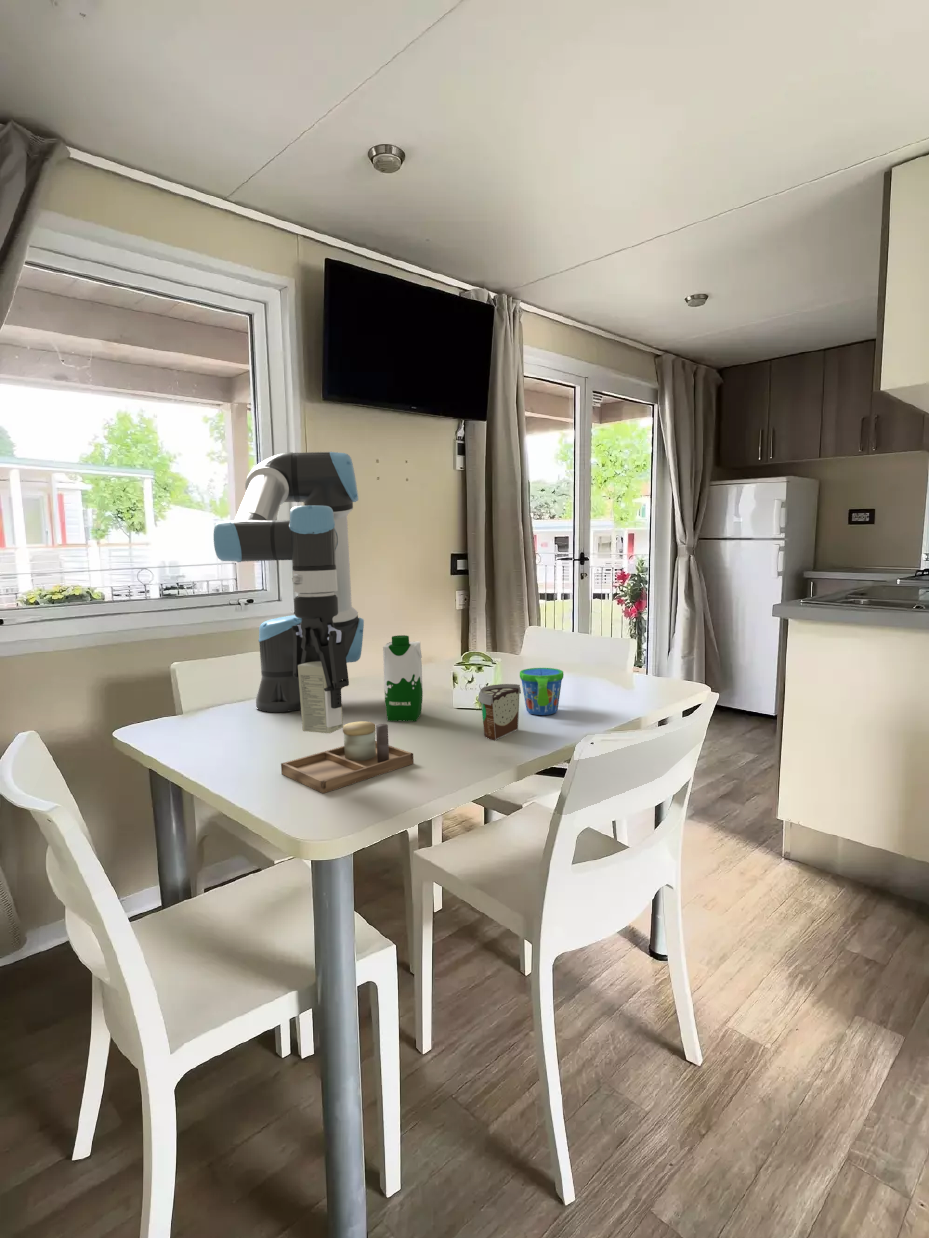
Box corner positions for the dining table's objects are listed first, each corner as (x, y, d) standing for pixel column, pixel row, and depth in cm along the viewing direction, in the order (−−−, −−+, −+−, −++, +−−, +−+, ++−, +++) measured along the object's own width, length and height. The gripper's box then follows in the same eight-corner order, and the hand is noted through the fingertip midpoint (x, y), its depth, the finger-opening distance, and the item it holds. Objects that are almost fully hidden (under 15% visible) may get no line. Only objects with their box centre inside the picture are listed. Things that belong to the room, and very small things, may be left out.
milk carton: (382, 722, 154) (379, 638, 152) (390, 712, 163) (387, 632, 161) (419, 722, 154) (416, 637, 151) (425, 712, 163) (423, 632, 160)
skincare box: (344, 728, 119) (341, 661, 118) (329, 734, 116) (326, 666, 114) (315, 724, 122) (312, 659, 121) (300, 731, 118) (296, 664, 117)
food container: (498, 724, 151) (497, 681, 150) (521, 728, 147) (520, 684, 146) (467, 737, 141) (466, 692, 140) (491, 742, 137) (490, 695, 136)
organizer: (281, 773, 122) (279, 732, 121) (369, 748, 135) (368, 711, 134) (323, 793, 112) (321, 748, 111) (413, 763, 125) (412, 723, 125)
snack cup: (523, 703, 169) (522, 664, 168) (564, 704, 167) (564, 665, 166) (516, 720, 154) (516, 677, 152) (562, 721, 152) (562, 678, 150)
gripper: (268, 593, 120) (275, 716, 123) (329, 598, 106) (335, 736, 109) (304, 590, 126) (310, 708, 128) (367, 595, 111) (372, 727, 114)
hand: (322, 721), depth 119 cm, fingers closed on skincare box, 7 cm apart
